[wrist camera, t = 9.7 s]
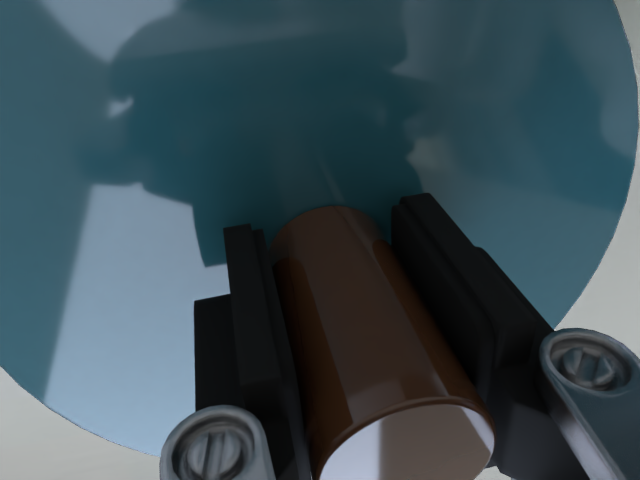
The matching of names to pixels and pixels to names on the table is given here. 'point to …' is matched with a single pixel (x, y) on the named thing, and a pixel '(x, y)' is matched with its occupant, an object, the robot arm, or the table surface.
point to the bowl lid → (297, 198)
